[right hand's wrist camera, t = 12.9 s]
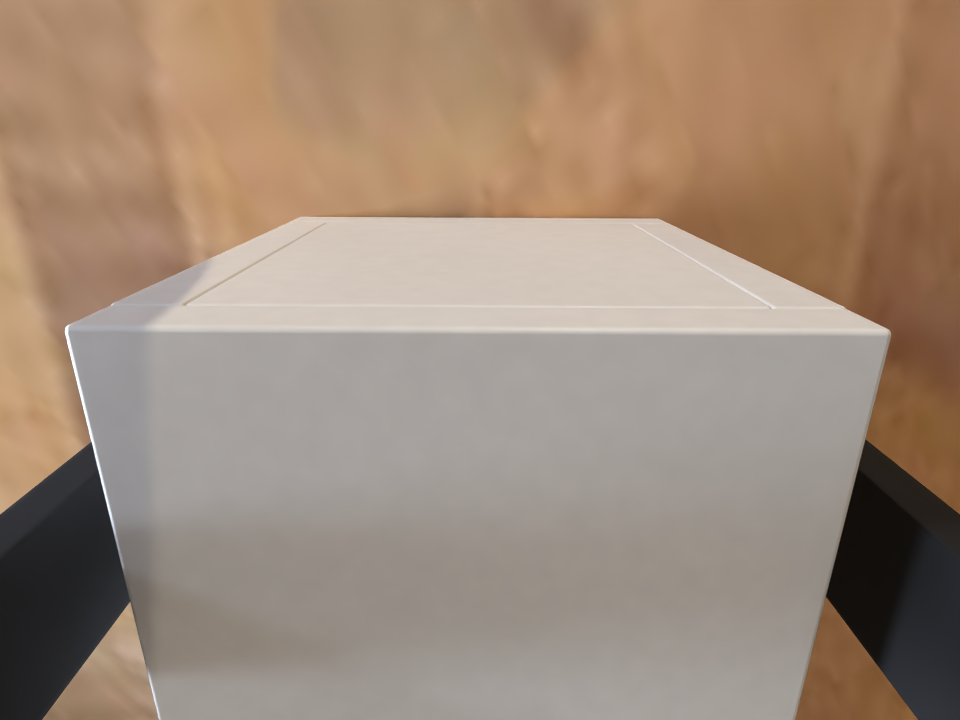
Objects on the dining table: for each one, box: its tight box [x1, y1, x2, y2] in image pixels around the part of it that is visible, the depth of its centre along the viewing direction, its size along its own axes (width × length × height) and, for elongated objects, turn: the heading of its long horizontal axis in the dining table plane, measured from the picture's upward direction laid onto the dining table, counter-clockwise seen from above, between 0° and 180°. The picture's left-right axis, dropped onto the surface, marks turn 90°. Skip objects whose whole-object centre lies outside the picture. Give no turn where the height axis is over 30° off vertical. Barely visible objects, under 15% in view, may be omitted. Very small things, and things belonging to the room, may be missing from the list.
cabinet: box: [65, 217, 891, 720], centre depth 16 cm, size 22×10×11 cm, turn 0°
